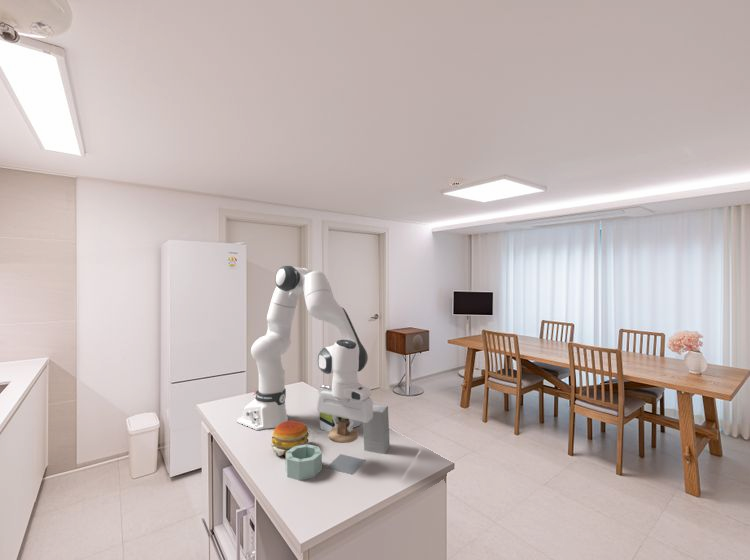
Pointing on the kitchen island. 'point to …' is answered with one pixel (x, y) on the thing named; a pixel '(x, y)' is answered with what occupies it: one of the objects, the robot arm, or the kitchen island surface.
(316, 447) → the bowl
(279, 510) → the kitchen island surface
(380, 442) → the skincare box
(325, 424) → the tea box
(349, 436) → the lid
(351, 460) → the mat
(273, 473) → the kitchen island surface
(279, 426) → the burger
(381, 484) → the kitchen island surface
